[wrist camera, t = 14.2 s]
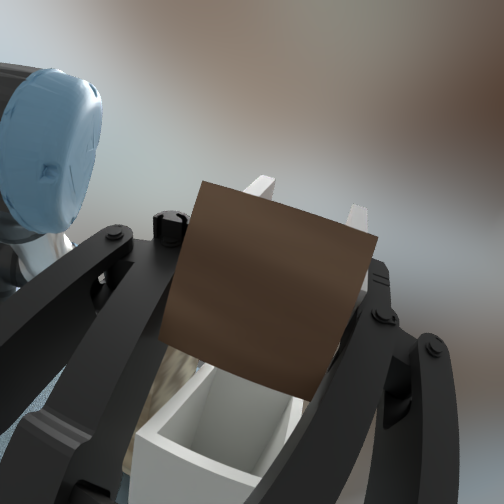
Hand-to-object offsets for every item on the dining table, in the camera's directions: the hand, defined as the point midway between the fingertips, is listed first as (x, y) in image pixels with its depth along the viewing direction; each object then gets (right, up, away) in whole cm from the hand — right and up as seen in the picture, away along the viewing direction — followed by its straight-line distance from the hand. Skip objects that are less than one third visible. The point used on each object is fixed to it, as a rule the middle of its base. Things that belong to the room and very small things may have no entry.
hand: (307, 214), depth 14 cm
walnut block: (0, -4, +6) cm, 7 cm away
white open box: (-10, -36, +12) cm, 39 cm away
